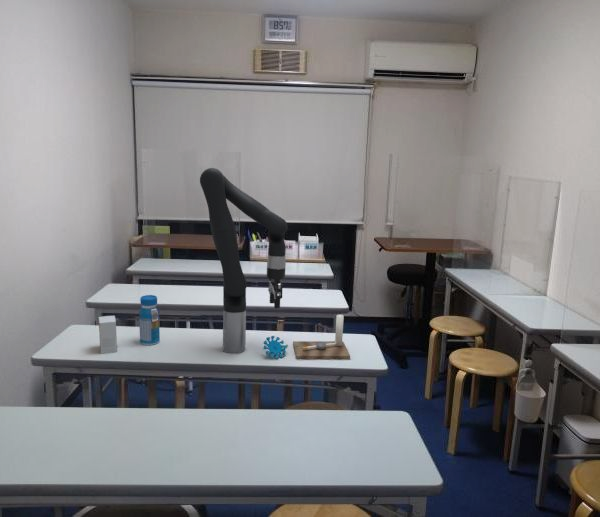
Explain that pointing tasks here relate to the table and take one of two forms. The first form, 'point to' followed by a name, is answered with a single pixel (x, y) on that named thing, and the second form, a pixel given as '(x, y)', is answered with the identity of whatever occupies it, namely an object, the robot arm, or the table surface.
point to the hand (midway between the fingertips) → (274, 305)
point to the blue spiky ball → (275, 347)
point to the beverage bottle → (149, 320)
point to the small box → (107, 334)
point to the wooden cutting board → (320, 351)
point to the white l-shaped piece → (337, 337)
